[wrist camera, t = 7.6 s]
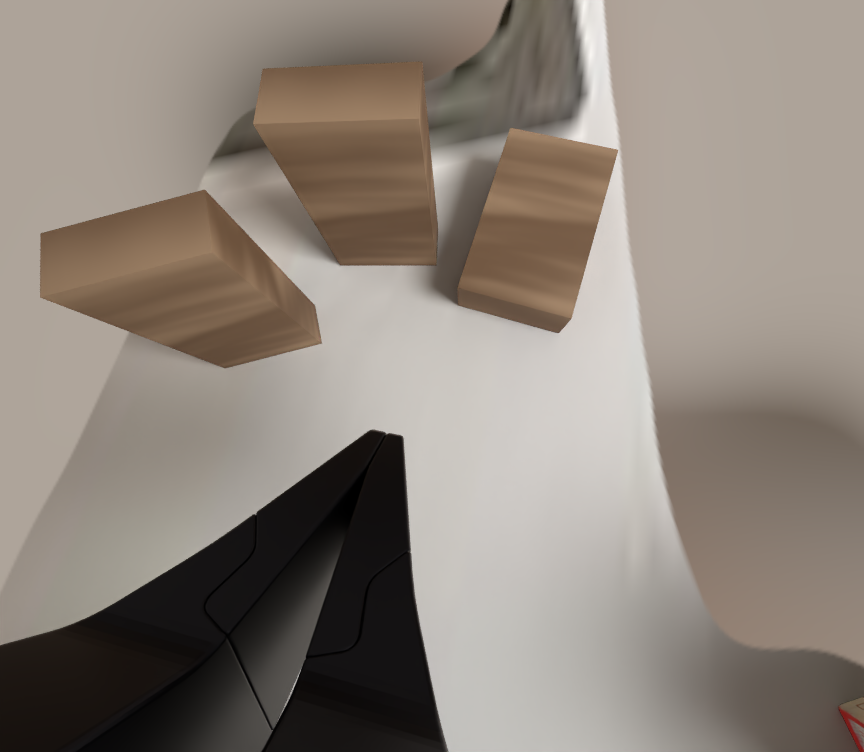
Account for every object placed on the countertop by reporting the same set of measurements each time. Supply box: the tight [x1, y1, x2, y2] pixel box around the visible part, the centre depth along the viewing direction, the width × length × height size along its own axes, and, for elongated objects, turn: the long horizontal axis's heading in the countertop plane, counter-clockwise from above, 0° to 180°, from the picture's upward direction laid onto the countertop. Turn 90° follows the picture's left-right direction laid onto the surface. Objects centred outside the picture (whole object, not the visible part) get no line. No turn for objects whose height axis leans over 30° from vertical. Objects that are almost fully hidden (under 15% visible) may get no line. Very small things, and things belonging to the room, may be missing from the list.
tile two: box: [40, 190, 322, 368], centre depth 17 cm, size 3×6×10 cm, turn 104°
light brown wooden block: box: [253, 62, 438, 265], centre depth 18 cm, size 3×6×10 cm, turn 88°
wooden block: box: [457, 128, 618, 333], centre depth 21 cm, size 3×6×10 cm
